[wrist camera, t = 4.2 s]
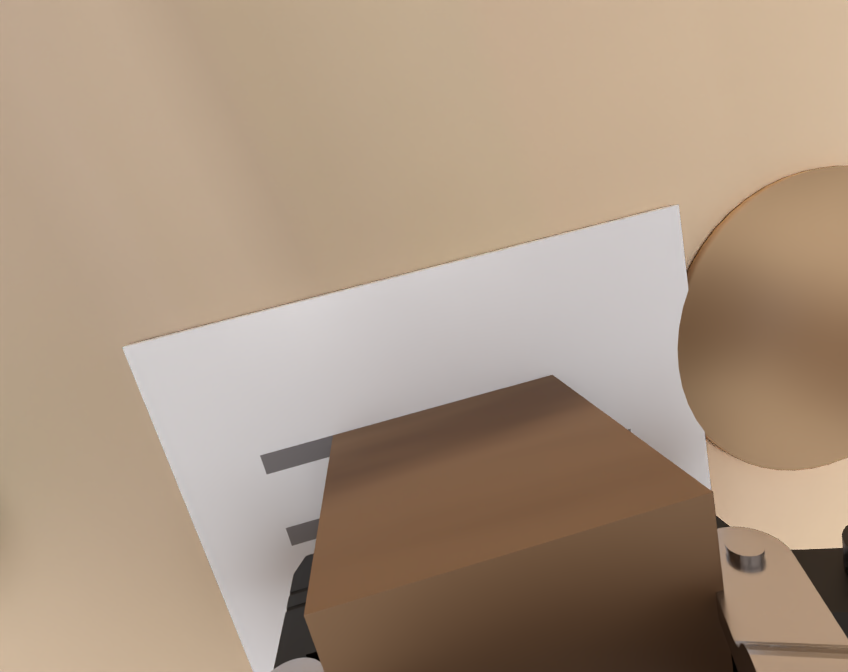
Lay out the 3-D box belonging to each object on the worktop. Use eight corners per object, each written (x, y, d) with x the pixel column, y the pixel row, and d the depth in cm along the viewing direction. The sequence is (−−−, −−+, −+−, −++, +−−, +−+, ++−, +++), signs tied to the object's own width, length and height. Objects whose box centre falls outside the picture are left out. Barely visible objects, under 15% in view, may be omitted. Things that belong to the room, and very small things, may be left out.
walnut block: (332, 435, 11) (303, 615, 6) (552, 374, 12) (712, 492, 6) (391, 623, 12) (411, 912, 7) (587, 562, 13) (746, 794, 7)
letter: (128, 344, 11) (121, 347, 10) (670, 205, 11) (679, 204, 11) (290, 747, 13) (288, 759, 13) (718, 610, 14) (726, 618, 14)
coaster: (651, 210, 11) (658, 209, 11) (947, 134, 12) (962, 131, 12) (688, 499, 13) (695, 504, 13) (943, 421, 14) (956, 425, 13)
